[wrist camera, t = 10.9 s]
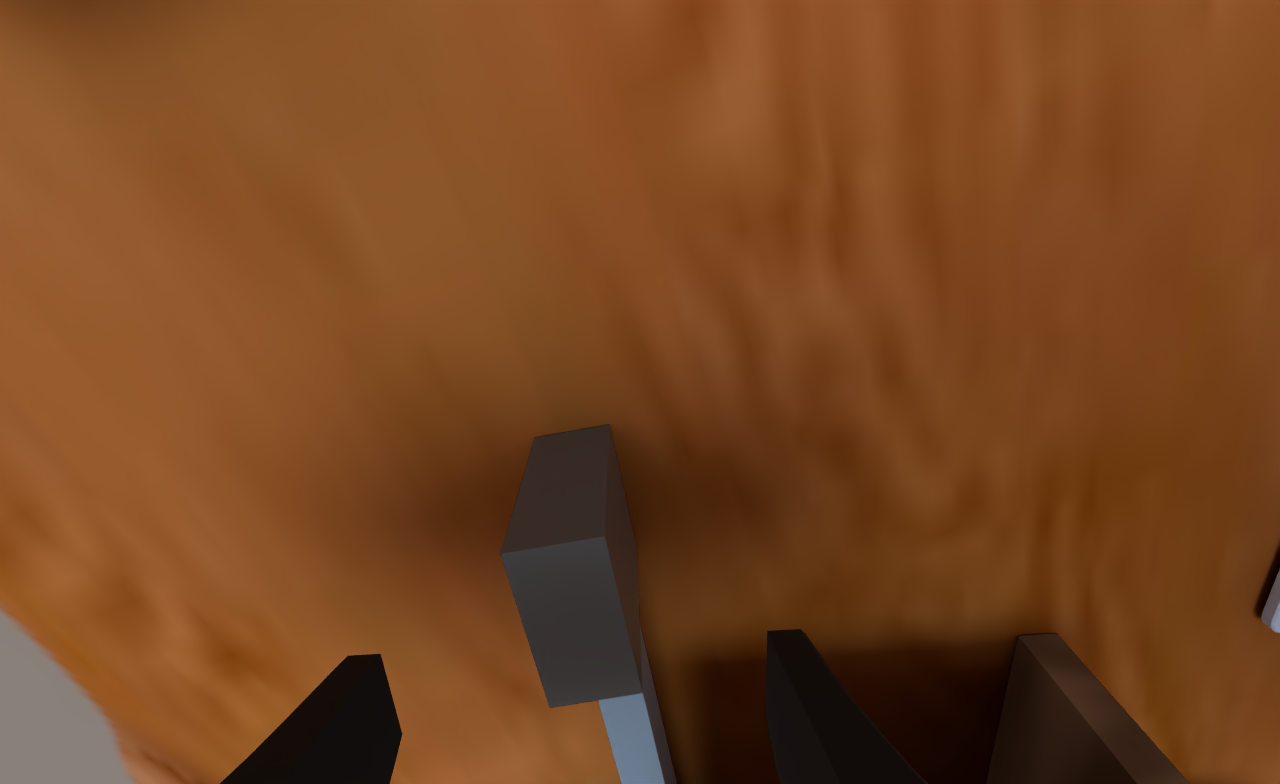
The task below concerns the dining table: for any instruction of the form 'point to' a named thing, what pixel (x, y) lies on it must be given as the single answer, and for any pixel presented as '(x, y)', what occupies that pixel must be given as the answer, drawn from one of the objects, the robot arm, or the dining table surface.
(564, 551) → the scraper
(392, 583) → the dining table surface
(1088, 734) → the shelf
